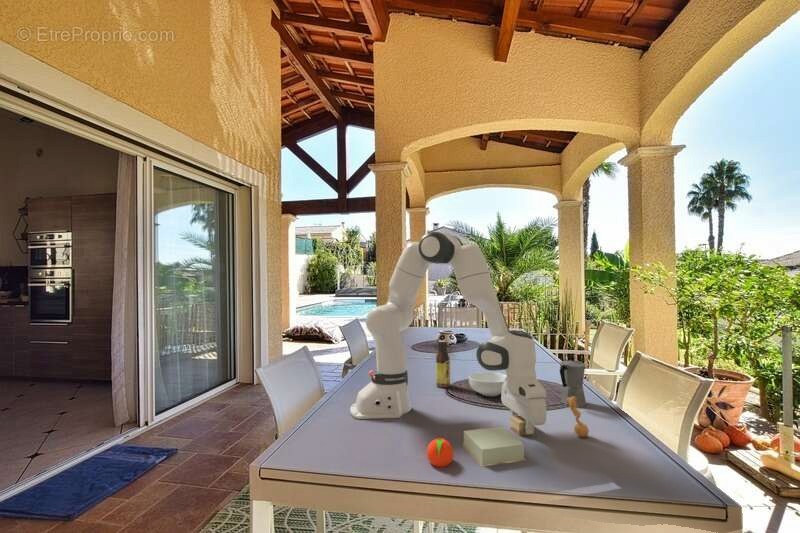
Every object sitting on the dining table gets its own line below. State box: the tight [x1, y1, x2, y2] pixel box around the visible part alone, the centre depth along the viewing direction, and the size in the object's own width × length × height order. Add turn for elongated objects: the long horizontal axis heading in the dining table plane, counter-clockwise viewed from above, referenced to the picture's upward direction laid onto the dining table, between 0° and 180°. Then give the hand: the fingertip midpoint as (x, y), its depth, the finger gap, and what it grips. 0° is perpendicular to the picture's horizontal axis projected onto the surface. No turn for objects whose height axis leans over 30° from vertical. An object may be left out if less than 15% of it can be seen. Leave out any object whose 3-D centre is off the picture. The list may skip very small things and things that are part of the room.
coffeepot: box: [559, 355, 587, 408], centre depth 147 cm, size 15×9×18 cm, turn 129°
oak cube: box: [510, 415, 535, 437], centre depth 120 cm, size 5×5×5 cm
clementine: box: [426, 437, 454, 468], centre depth 101 cm, size 8×7×7 cm
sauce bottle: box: [435, 340, 451, 389], centre depth 172 cm, size 7×6×20 cm
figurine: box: [567, 396, 590, 438], centre depth 119 cm, size 8×6×12 cm
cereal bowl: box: [468, 371, 507, 397], centre depth 161 cm, size 17×17×7 cm
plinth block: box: [463, 426, 525, 465], centre depth 106 cm, size 12×12×4 cm
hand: (522, 428), depth 120 cm, fingers closed on oak cube, 5 cm apart
